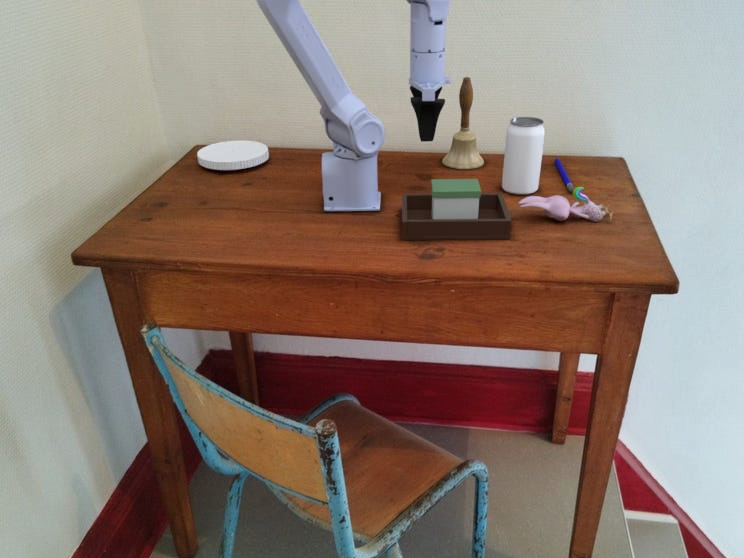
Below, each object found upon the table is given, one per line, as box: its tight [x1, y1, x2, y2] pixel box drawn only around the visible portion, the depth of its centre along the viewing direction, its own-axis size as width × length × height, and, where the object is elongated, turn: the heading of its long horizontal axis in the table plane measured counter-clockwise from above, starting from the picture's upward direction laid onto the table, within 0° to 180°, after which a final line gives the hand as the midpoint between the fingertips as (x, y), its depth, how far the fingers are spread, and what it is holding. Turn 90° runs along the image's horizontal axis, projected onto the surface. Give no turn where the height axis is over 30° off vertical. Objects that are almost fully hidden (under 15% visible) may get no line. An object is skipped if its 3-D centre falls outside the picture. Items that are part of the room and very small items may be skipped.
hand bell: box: [441, 76, 485, 171], centre depth 127 cm, size 8×8×16 cm
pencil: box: [554, 158, 575, 193], centre depth 123 cm, size 17×1×1 cm, turn 177°
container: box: [430, 178, 482, 219], centre depth 104 cm, size 7×5×6 cm
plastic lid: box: [196, 139, 270, 171], centre depth 133 cm, size 14×14×2 cm
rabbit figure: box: [518, 186, 614, 223], centre depth 106 cm, size 6×6×15 cm
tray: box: [401, 192, 512, 241], centre depth 106 cm, size 17×12×3 cm
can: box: [501, 116, 546, 196], centre depth 115 cm, size 6×6×12 cm
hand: (426, 134), depth 115 cm, fingers open, 7 cm apart
